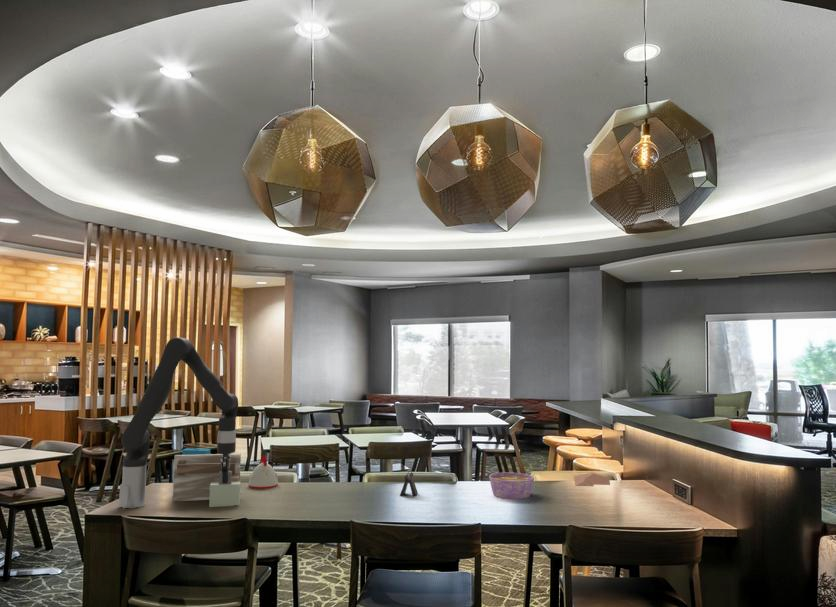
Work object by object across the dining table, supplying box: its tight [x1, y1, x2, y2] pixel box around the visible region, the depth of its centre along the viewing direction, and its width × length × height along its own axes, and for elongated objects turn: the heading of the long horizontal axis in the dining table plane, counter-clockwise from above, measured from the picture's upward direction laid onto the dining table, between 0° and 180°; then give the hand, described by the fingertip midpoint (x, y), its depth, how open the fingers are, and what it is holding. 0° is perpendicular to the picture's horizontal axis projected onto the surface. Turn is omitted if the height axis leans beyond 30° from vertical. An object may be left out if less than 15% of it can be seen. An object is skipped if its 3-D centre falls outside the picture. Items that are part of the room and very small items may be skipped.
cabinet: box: [208, 471, 242, 508], centre depth 274 cm, size 11×12×15 cm
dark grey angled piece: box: [399, 472, 419, 497], centre depth 287 cm, size 9×6×12 cm, turn 81°
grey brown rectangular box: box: [172, 453, 242, 502], centre depth 284 cm, size 13×28×20 cm, turn 101°
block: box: [181, 448, 211, 455], centre depth 297 cm, size 12×5×20 cm, turn 84°
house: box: [573, 472, 611, 487], centre depth 314 cm, size 23×33×8 cm
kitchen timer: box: [248, 455, 279, 490], centre depth 312 cm, size 14×14×15 cm
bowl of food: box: [488, 472, 535, 500], centre depth 285 cm, size 20×20×12 cm
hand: (225, 482), depth 271 cm, fingers closed on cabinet
